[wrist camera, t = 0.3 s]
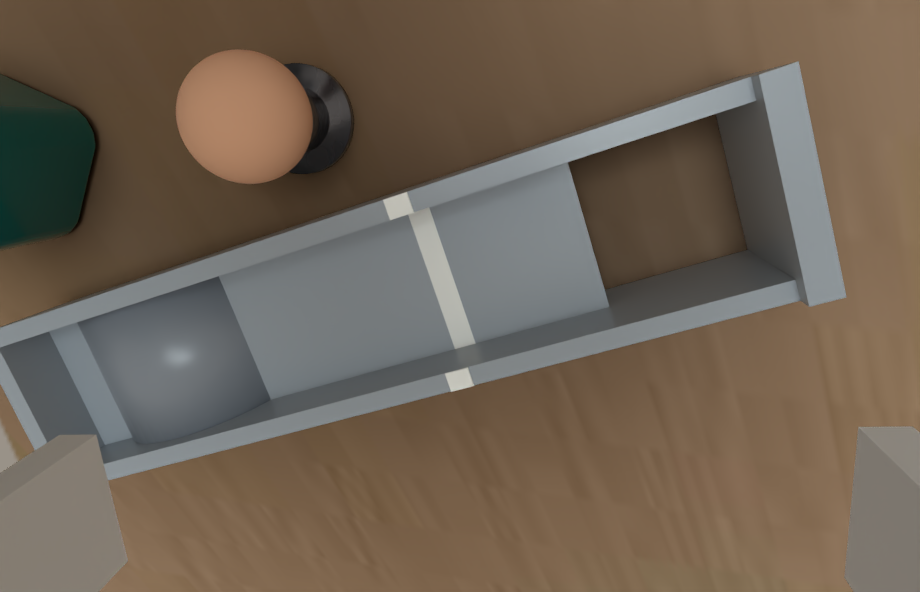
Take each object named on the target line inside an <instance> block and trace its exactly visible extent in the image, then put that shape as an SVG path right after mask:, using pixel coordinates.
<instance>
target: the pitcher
mask: <svg viewBox="0 0 920 592" xmlns="http://www.w3.org/2000/svg"><path fill="white" fill-rule="evenodd" d="M95 148H96V144H95V137H94V132H93V130H92V128H91V126H90V124H89V122H88V120H87V119H86V118H85V117H84V116H83V115H82V114H81V113H80V112H79V111H78V110H77V109H76V108H74V107H72V106H70V105H68V104H65V103H63V102H61V101H59V100H56V99H54V98H52V97H50V96H48V95H45V94H43V93H41V92H39V91H36V90H34V89H32V88H30V87H28V86H25V85H23V84H21V83H19V82H17V81H14V80H12V79H10V78H8V77H5V76H3V75H1V74H0V251H3V250H7V249H11V248H16V247H20V246H24V245H29V244H33V243H38V242H42V241H46V240H51V239H55V238H59V237H61V236H63V235H66V234H68V233H70V232H71V231H72V229H73V228H74V227H75V225H76V224H77V223H78V221H79V216H80V212H81V208H82V204H83V199H84V195H85V191H86V187H87V182H88V178H89V174H90V169H91V165H92V161H93V157H94V152H95Z"/></svg>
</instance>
